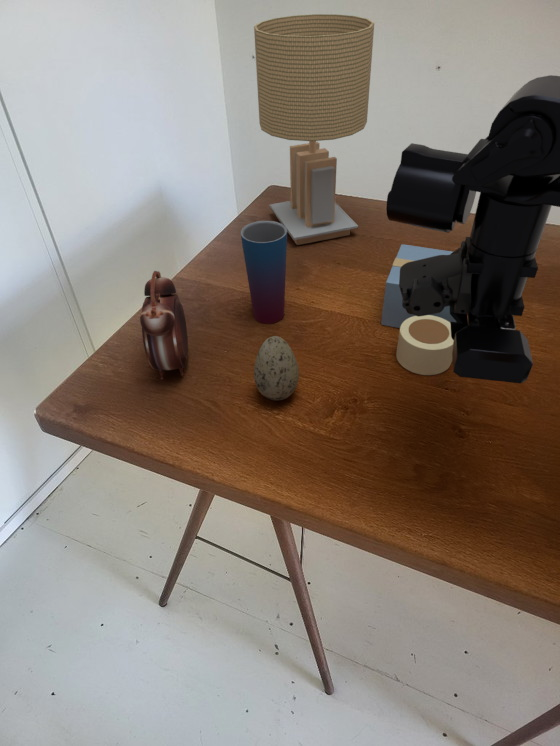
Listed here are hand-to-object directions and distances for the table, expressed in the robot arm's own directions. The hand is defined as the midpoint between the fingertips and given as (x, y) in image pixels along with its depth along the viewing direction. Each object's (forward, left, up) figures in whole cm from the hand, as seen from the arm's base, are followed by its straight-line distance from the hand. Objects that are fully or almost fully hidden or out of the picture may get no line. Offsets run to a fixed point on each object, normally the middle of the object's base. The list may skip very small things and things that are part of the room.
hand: (466, 371), depth 57 cm
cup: (+31, -18, -12) cm, 38 cm away
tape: (+5, -15, -12) cm, 20 cm away
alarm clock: (+40, -2, -12) cm, 42 cm away
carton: (+7, -27, -12) cm, 30 cm away
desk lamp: (+34, -50, -12) cm, 62 cm away
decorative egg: (+23, -1, -12) cm, 26 cm away
